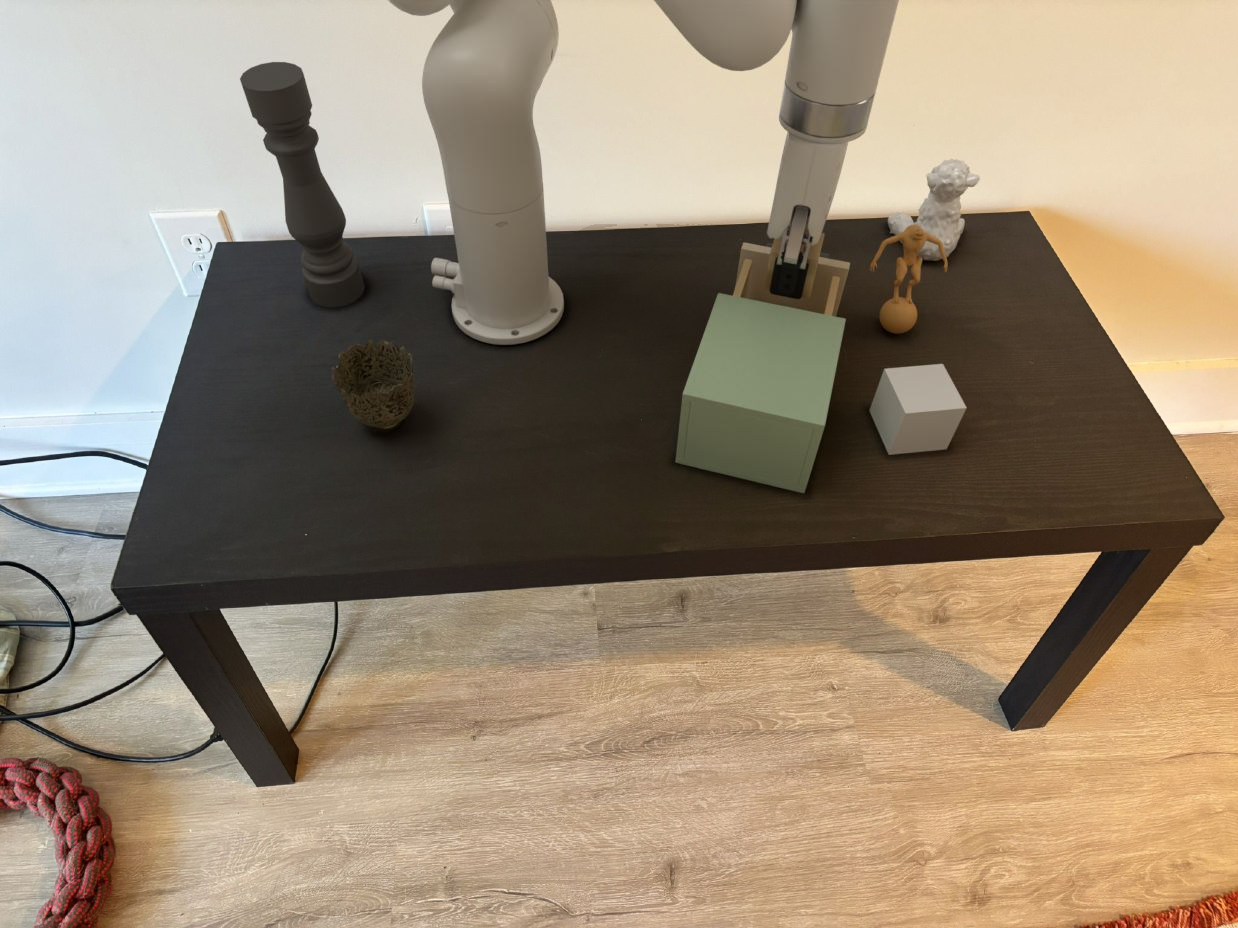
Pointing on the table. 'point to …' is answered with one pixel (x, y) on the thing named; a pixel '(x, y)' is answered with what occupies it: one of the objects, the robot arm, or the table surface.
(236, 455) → the table surface
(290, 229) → the candle holder
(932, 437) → the white cube
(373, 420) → the cup
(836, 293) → the drawer
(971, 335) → the table surface
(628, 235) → the table surface
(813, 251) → the block
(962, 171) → the white creature statuette
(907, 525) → the table surface
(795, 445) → the cabinet
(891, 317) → the figurine
